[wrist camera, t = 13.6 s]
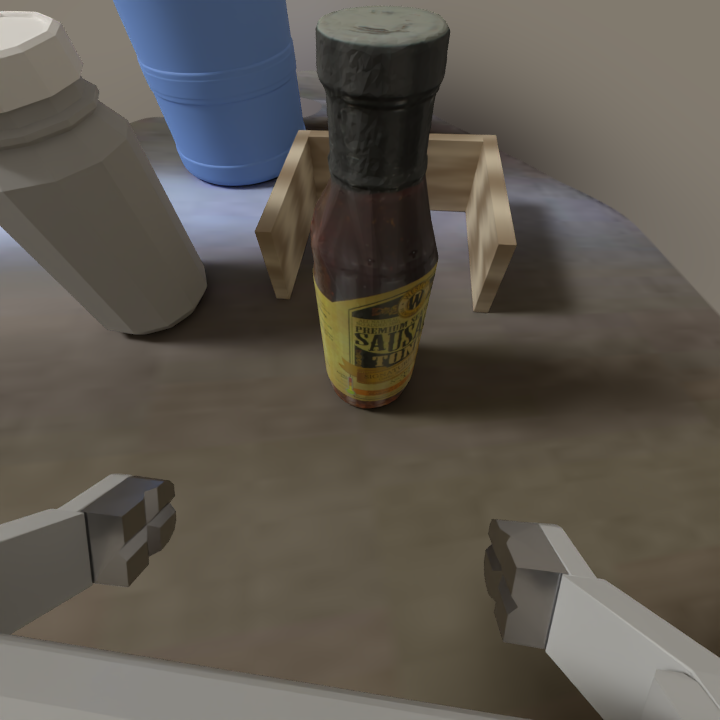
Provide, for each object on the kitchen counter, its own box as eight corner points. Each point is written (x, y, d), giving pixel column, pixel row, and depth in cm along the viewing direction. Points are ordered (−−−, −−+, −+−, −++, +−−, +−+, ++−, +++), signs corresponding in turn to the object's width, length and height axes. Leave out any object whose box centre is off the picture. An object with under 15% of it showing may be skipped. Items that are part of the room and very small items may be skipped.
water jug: (294, 192, 40) (185, -364, 17) (164, 187, 41) (-105, -336, 18) (318, 127, 49) (269, -304, 25) (210, 124, 50) (66, -288, 26)
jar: (191, 248, 35) (57, -5, 20) (229, 308, 31) (92, 40, 16) (90, 289, 33) (-154, 31, 17) (114, 362, 28) (-186, 99, 13)
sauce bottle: (363, 430, 24) (343, 88, 8) (312, 370, 27) (218, 23, 10) (431, 378, 26) (533, 21, 10) (378, 327, 29) (387, -19, 12)
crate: (487, 312, 30) (516, 245, 24) (276, 298, 31) (254, 231, 25) (476, 205, 38) (495, 135, 32) (309, 198, 39) (298, 130, 34)
